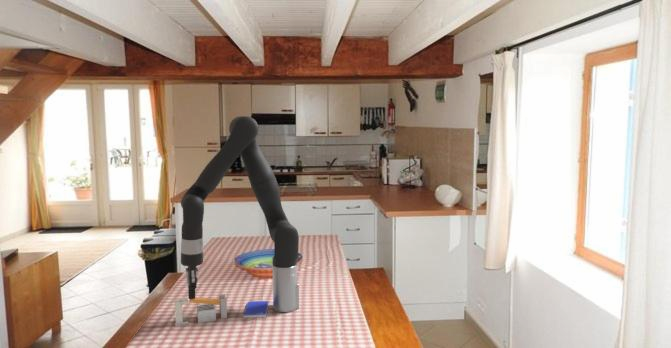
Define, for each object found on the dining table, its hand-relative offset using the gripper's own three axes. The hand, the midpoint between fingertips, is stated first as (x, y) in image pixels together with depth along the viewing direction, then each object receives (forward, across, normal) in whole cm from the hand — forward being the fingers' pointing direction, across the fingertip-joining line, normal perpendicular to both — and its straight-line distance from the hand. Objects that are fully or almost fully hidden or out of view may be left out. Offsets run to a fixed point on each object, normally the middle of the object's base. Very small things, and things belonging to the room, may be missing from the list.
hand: (191, 298), depth 166 cm
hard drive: (+9, +3, -24) cm, 26 cm away
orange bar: (+3, 0, -5) cm, 6 cm away
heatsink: (+9, 0, -5) cm, 10 cm away
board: (+9, 0, -4) cm, 10 cm away
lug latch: (+8, 0, +3) cm, 9 cm away
